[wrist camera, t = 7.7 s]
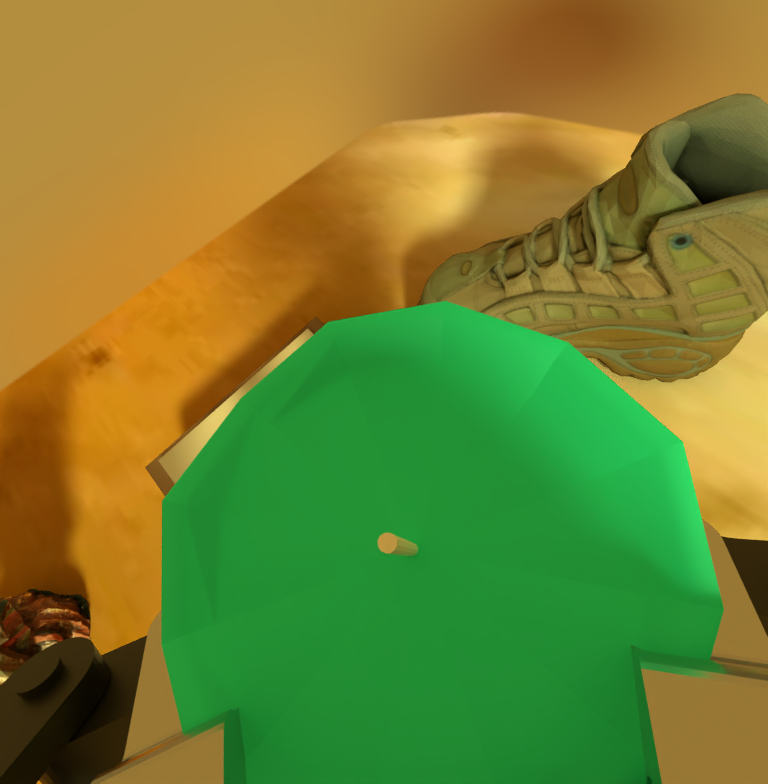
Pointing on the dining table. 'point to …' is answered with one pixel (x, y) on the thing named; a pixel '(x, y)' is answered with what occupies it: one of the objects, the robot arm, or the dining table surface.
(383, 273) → the dining table surface
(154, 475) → the wooden square box
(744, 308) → the sneaker
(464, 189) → the dining table surface
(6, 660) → the figurine
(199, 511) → the candle
